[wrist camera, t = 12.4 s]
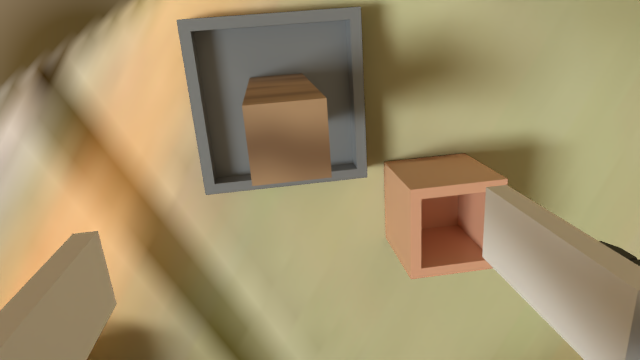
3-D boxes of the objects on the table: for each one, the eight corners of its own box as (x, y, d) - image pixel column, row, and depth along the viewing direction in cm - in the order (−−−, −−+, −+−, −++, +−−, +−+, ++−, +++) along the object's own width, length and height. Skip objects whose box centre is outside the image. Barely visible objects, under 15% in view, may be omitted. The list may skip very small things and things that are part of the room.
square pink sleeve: (461, 228, 51) (501, 267, 42) (385, 237, 50) (410, 279, 42) (464, 153, 48) (507, 178, 40) (383, 161, 47) (410, 189, 39)
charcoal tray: (361, 168, 47) (367, 177, 44) (209, 184, 46) (205, 194, 43) (354, 8, 42) (360, 6, 39) (182, 20, 40) (176, 19, 38)
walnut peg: (306, 124, 44) (331, 177, 28) (255, 129, 43) (252, 186, 27) (302, 73, 42) (326, 97, 26) (249, 77, 42) (241, 105, 26)
